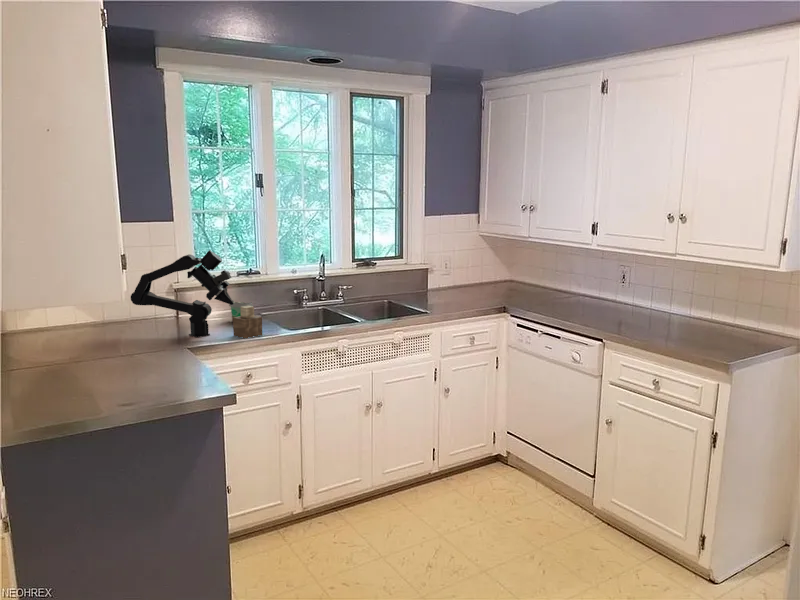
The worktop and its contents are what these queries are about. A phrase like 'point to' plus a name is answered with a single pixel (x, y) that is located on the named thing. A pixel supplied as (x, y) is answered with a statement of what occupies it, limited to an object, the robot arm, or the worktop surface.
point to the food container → (238, 308)
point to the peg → (247, 312)
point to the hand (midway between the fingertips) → (232, 304)
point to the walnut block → (247, 326)
